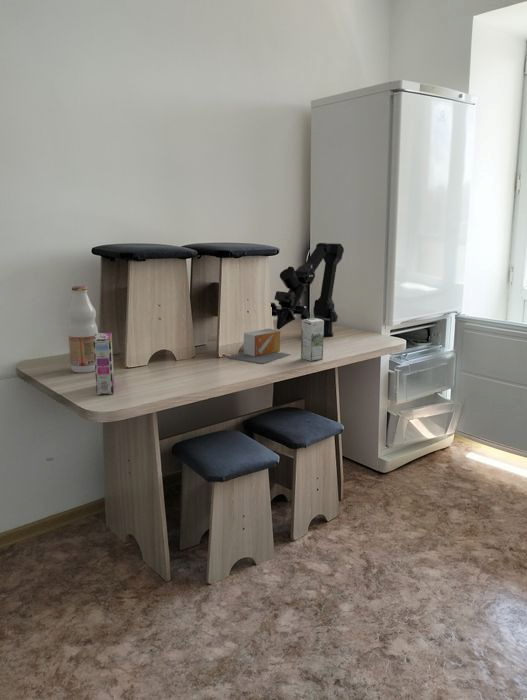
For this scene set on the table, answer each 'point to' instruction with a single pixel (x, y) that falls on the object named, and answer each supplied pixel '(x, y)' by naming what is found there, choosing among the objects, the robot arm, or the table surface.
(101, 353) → the candy bar box
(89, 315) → the fruit juice
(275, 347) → the small box
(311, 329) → the syrup box
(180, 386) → the table surface
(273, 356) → the felt mat
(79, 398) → the table surface
